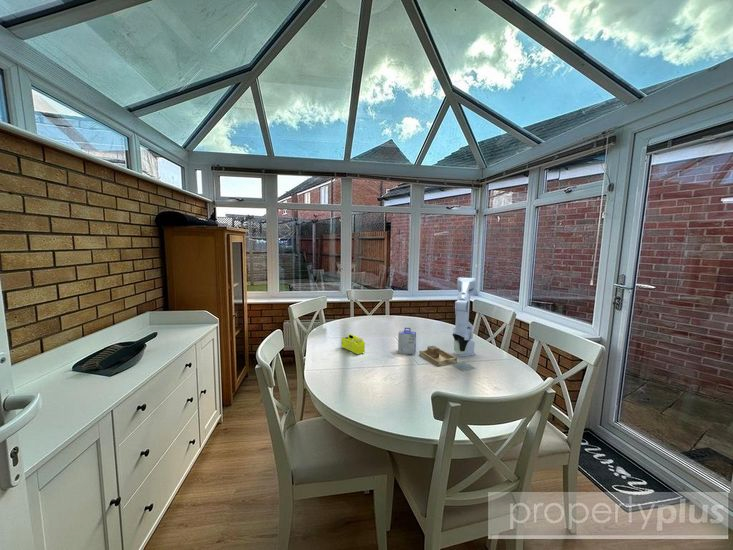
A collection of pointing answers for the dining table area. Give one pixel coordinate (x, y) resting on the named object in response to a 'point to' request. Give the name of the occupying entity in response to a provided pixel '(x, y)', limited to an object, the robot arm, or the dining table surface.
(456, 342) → the sage block
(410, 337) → the ink cartridge box
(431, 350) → the walnut block
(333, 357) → the dining table surface
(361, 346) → the yellow toy chassis
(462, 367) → the rubber pad
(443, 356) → the oak tray
